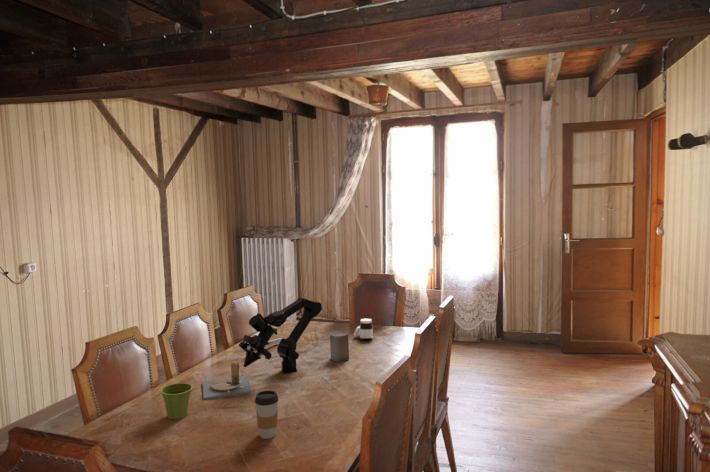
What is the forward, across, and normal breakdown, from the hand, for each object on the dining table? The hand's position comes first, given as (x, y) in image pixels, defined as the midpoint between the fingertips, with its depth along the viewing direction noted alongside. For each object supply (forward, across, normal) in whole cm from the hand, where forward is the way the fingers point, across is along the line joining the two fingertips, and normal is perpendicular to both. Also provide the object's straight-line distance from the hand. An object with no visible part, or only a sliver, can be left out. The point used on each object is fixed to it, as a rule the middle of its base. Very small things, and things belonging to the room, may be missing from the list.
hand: (244, 366), depth 220 cm
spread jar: (-57, -8, +69) cm, 90 cm away
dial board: (+11, -4, +2) cm, 12 cm away
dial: (+10, -4, +1) cm, 11 cm away
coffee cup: (+22, +45, -8) cm, 50 cm away
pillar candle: (-32, +7, +44) cm, 55 cm away
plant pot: (+32, +5, -18) cm, 37 cm away
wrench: (-22, -36, +35) cm, 54 cm away
